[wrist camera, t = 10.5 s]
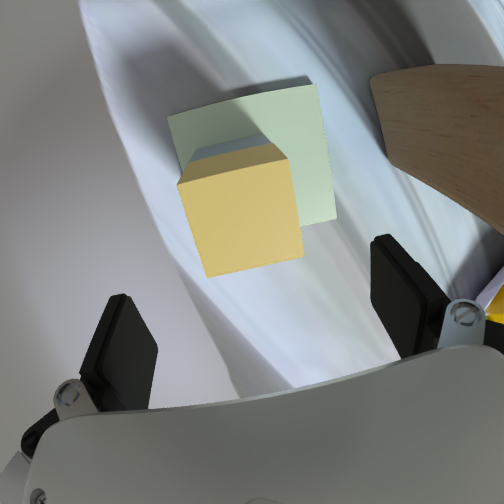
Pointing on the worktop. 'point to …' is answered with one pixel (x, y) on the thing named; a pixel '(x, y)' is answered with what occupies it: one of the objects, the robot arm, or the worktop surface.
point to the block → (448, 131)
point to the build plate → (277, 131)
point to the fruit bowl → (493, 298)
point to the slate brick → (229, 146)
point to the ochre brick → (242, 209)
